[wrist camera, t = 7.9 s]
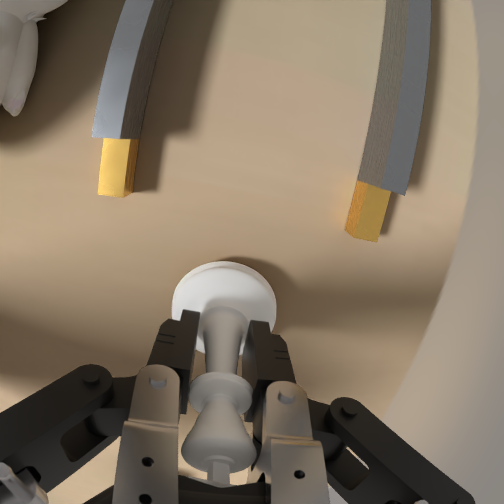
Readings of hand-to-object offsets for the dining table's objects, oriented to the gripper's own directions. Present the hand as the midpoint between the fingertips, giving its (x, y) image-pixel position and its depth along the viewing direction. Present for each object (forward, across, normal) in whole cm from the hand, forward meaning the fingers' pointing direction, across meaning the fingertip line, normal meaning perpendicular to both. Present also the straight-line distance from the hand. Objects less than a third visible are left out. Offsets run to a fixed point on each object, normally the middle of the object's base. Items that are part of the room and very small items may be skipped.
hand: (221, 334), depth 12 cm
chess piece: (+2, 0, 0) cm, 2 cm away
